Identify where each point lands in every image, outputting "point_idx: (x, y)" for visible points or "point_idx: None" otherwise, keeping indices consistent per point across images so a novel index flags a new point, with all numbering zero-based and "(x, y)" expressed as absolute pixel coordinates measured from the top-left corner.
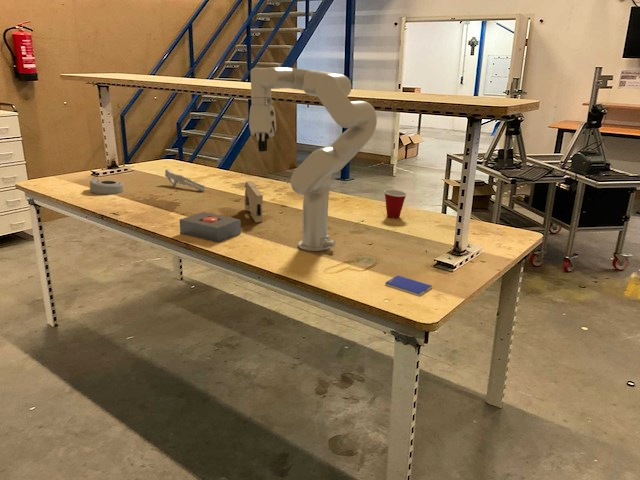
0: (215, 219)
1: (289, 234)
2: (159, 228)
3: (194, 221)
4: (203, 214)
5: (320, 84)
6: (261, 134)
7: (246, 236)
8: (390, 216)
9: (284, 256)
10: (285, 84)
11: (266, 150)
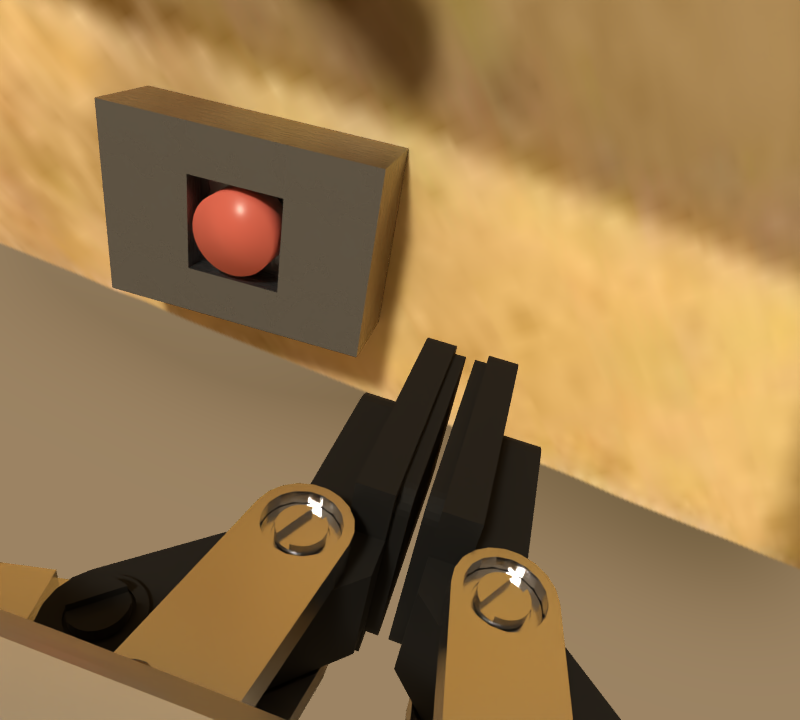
0: (261, 231)
1: (723, 26)
2: (31, 222)
3: (192, 293)
4: (135, 153)
5: None
6: (236, 674)
7: (460, 182)
8: None
9: (764, 401)
10: None
11: (513, 372)
